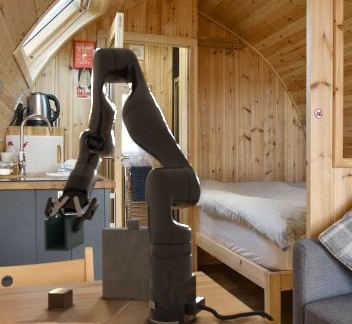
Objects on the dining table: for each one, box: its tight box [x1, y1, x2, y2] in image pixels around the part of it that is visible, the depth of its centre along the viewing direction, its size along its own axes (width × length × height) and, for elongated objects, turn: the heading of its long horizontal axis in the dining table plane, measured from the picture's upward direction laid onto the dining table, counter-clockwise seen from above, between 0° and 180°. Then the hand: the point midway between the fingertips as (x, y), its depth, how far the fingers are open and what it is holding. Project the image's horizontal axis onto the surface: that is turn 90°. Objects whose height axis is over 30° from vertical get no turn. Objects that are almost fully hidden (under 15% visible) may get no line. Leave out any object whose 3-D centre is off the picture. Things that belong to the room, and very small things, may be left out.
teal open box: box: [43, 213, 85, 252], centre depth 122 cm, size 10×6×8 cm, turn 177°
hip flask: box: [101, 217, 150, 302], centre depth 116 cm, size 16×4×20 cm, turn 81°
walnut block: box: [47, 287, 74, 310], centre depth 109 cm, size 4×4×4 cm
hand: (62, 230), depth 120 cm, fingers closed on teal open box, 6 cm apart
